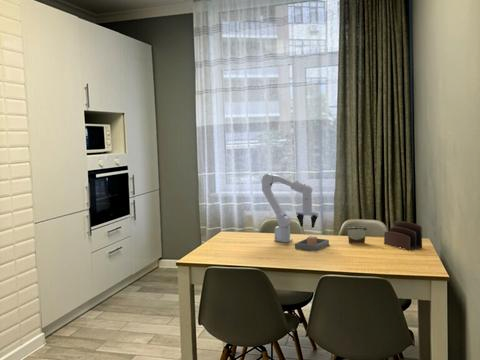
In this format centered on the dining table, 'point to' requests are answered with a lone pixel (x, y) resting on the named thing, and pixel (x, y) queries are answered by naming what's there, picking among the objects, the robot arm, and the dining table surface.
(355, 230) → the food container
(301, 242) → the baking dish
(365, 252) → the dining table surface
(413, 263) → the dining table surface
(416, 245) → the letter holder
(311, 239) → the terracotta block
